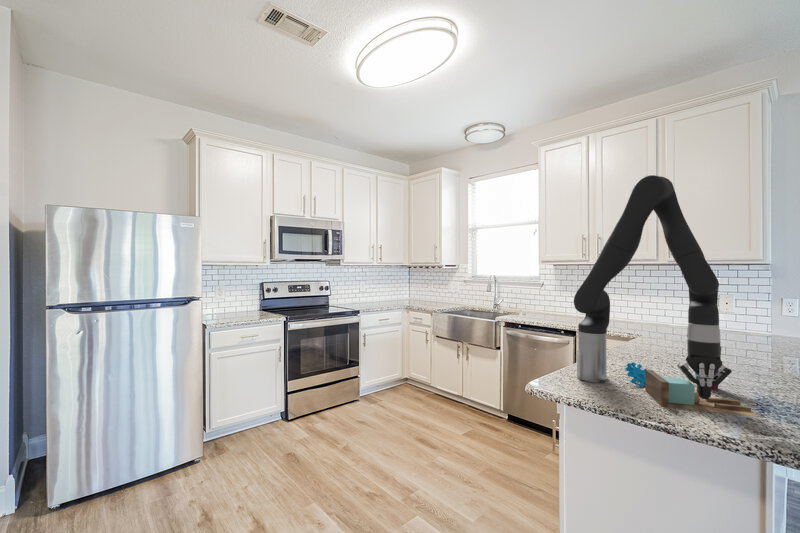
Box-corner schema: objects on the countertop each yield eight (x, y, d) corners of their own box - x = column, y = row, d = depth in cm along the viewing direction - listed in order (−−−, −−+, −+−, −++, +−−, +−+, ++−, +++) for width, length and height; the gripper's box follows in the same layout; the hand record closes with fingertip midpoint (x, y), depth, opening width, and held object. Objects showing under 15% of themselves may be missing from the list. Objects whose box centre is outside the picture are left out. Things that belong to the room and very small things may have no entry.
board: (661, 409, 105) (661, 381, 105) (645, 393, 118) (645, 369, 119) (762, 420, 98) (761, 390, 98) (733, 402, 111) (733, 376, 111)
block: (665, 402, 108) (665, 382, 108) (657, 394, 114) (657, 376, 114) (694, 405, 106) (694, 385, 106) (684, 397, 112) (684, 378, 112)
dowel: (667, 400, 109) (667, 390, 109) (663, 398, 112) (663, 388, 112) (699, 404, 107) (699, 393, 107) (695, 401, 109) (695, 391, 110)
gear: (637, 386, 121) (622, 359, 128) (625, 394, 125) (612, 368, 132) (664, 389, 123) (648, 362, 130) (652, 397, 127) (637, 371, 134)
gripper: (682, 340, 106) (682, 400, 106) (738, 342, 102) (739, 405, 102) (671, 335, 114) (672, 392, 113) (724, 338, 109) (724, 396, 109)
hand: (704, 398), depth 108 cm, fingers closed
